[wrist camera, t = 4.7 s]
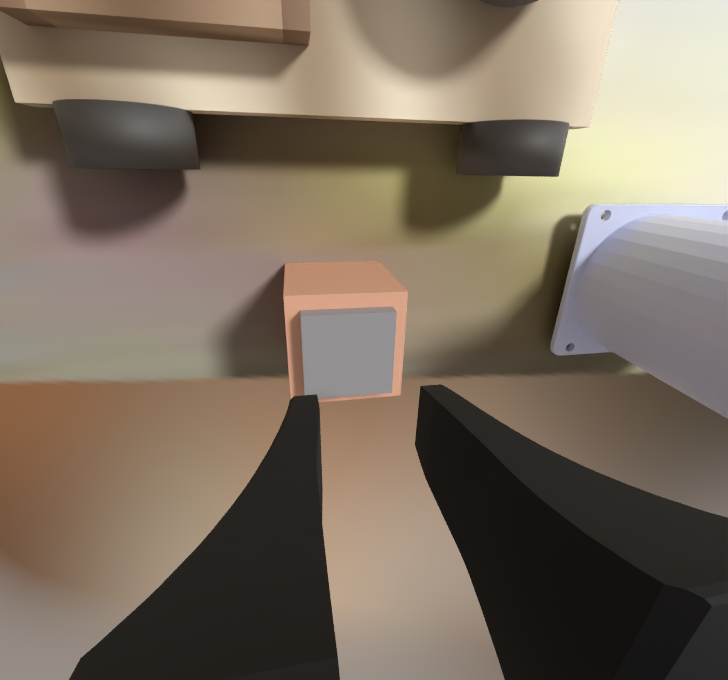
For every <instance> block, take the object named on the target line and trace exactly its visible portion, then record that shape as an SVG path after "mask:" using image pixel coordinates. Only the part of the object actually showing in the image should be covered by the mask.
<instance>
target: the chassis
mask: <svg viewBox="0 0 728 680" xmlns="http://www.w3.org/2000/svg"><path fill="white" fill-rule="evenodd" d="M618 2H619V0H538V1H536V2H533V3H530V4H527V5H523V6H517V7H499V6H494V5H489V4H487V3H484V2H482V1H479V0H0V55H1V59H2V62H3V65H4V68H5V72H6V75H7V78H8V81H9V84H10V88H11V91H12V94H13V97H14V101H15V102H16V103H20V104H24V105H29V106H33V107H49V108H54V112H55V115H56V119H57V122H58V126H59V130H60V133H61V137H62V141H63V144H64V148H65V151H66V155H67V159H68V162H69V166H70V167H72V168H109V169H185V170H195V169H200V163H199V156H198V149H197V142H196V136H195V129H194V122H193V115H192V113H193V114H217V115H241V116H265V117H289V118H313V119H337V120H361V121H385V122H409V123H433V124H457V125H461V133H460V142H459V151H458V160H457V169H456V174H466V175H499V176H551V177H557V176H559V171H560V166H561V162H562V157H563V152H564V148H565V143H566V138H567V134H568V129H579V128H587V127H590V123H591V118H592V114H593V110H594V106H595V101H596V97H597V93H598V88H599V84H600V80H601V75H602V71H603V67H604V63H605V58H606V54H607V50H608V45H609V41H610V37H611V32H612V28H613V24H614V20H615V15H616V11H617V7H618Z"/></svg>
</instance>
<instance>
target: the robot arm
mask: <svg viewBox="0 0 728 680" xmlns="http://www.w3.org/2000/svg"><path fill="white" fill-rule="evenodd" d="M604 211H605V215H604V217H603V218H602V219H601V215H602V213H603V212H604ZM722 215H723V216H722ZM568 344H570V345H569V347H567V345H568ZM566 347H567V348H566ZM550 350H551V352H553V353H554V354H556V355H558V356H562V355H576V354H591V353H605V352H613V353H615V354H617V355H618V356H620V357H622V358H624V359H625V360H627V361H629V362H631V363H632V364H634V365H636V366H638V367H639V368H641V369H643V370H644V371H646V372H648V373H650V374H651V375H653V376H655V377H657V378H658V379H660V380H662V381H664V382H665V383H667V384H669V385H671V386H672V387H674V388H676V389H677V390H679V391H681V392H683V393H684V394H686V395H688V396H690V397H691V398H693V399H695V400H696V401H698V402H700V403H702V404H703V405H705V406H707V407H709V408H710V409H712V410H714V411H716V412H717V413H719V414H721V415H722V416H724V417H726V418H728V205H722V204H592V205H589V206H588V207H587V208H586V209H585V210H584V212H583V215H582V219H581V223H580V227H579V231H578V235H577V239H576V243H575V247H574V251H573V255H572V259H571V263H570V267H569V272H568V276H567V280H566V284H565V288H564V292H563V296H562V300H561V304H560V308H559V312H558V316H557V320H556V324H555V328H554V332H553V336H552V340H551V345H550ZM320 437H321V436H320V409H319V402H318V396H317V394H314V395H302V396H294V397H293V398H292V399H291V400H290V403H289V406H288V410H287V413H286V415H285V418H284V420H283V422H282V425H281V427H280V429H279V431H278V433H277V435H276V437H275V439H274V441H273V443H272V445H271V447H270V449H269V450H268V452H267V454H266V456H265V458H264V459H263V461H262V462H261V464H260V466H259V467H258V469H257V471H256V473H255V474H254V475H253V477H252V478H251V480H250V482H249V483H248V484H247V486H246V487H245V489H244V490H243V491H242V493H241V494H240V496H239V497H238V498H237V500H236V501H235V502H234V504H233V505H232V506H231V508H230V509H229V510H228V511H227V513H226V514H225V515H224V516H223V517H222V519H221V520H220V521H219V522H218V524H217V525H216V526H215V528H214V529H213V530H212V531H211V532H210V533H209V534H208V536H207V537H206V538H205V539H204V540H203V541H202V542H201V544H200V545H199V546H198V547H197V548H196V549H195V550H194V551H193V552H192V553H191V555H189V556H188V558H186V559H185V561H184V562H183V563H182V564H181V565H180V566H179V567H178V568H177V569H176V570H175V571H174V572H173V573H172V574H171V575H170V576H169V577H168V578H167V579H166V580H165V581H164V582H163V583H162V585H161V586H160V587H159V588H157V589H156V590H155V591H154V592H153V593H152V594H151V595H150V596H149V597H148V598H147V599H146V600H145V601H144V602H143V603H142V604H141V605H140V606H138V607H137V608H136V610H134V611H133V612H132V613H131V614H130V615H129V616H127V617H126V619H124V620H123V621H122V622H121V623H120V624H119V625H118V626H116V627H115V628H114V629H113V630H112V631H111V632H110V633H109V634H108V635H107V636H106V637H104V638H103V640H101V641H100V642H99V643H98V644H97V645H96V646H95V647H93V648H92V649H91V650H90V651H89V652H87V653H86V654H85V655H84V656H83V657H82V658H81V659H80V661H79V662H78V664H77V666H76V668H75V670H74V672H73V673H72V675H71V677H70V679H69V680H340V677H339V667H338V656H337V648H336V641H335V632H334V624H333V616H332V607H331V599H330V590H329V582H328V573H327V565H326V555H325V547H324V537H323V529H322V466H321V465H322V464H321V438H320ZM415 446H416V449H417V453H418V456H419V459H420V463H421V466H422V469H423V472H424V475H425V478H426V480H427V482H428V484H429V487H430V489H431V491H432V493H433V495H434V498H435V500H436V502H437V504H438V506H439V508H440V510H441V513H442V515H443V517H444V519H445V521H446V523H447V525H448V527H449V530H450V531H451V534H452V536H453V538H454V540H455V542H456V544H457V547H458V549H459V551H460V553H461V556H462V558H463V560H464V563H465V565H466V567H467V570H468V573H469V575H470V578H471V581H472V584H473V586H474V589H475V592H476V595H477V598H478V601H479V603H480V606H481V609H482V611H483V615H484V618H485V621H486V624H487V627H488V630H489V633H490V635H491V638H492V642H493V644H494V647H495V650H496V653H497V656H498V659H499V663H500V666H501V669H502V672H503V675H504V678H505V680H728V518H727V517H723V516H719V515H716V514H712V513H709V512H705V511H702V510H699V509H696V508H693V507H690V506H687V505H684V504H681V503H678V502H675V501H672V500H669V499H666V498H663V497H660V496H657V495H654V494H651V493H649V492H646V491H643V490H640V489H638V488H635V487H632V486H630V485H627V484H625V483H622V482H620V481H617V480H615V479H612V478H610V477H608V476H605V475H603V474H600V473H598V472H595V471H593V470H591V469H589V468H586V467H584V466H582V465H580V464H578V463H576V462H573V461H571V460H569V459H567V458H565V457H563V456H561V455H559V454H557V453H554V452H553V451H551V450H549V449H547V448H545V447H543V446H541V445H539V444H537V443H536V442H534V441H532V440H530V439H529V438H527V437H525V436H523V435H521V434H520V433H518V432H516V431H514V430H513V429H511V428H509V427H508V426H506V425H505V424H503V423H501V422H500V421H498V420H496V419H495V418H493V417H492V416H490V415H489V414H487V413H485V412H484V411H482V410H480V409H479V408H478V407H476V406H475V405H473V404H472V403H470V402H469V401H467V400H466V399H464V398H463V397H461V396H460V395H458V394H456V393H455V392H453V391H452V390H450V389H448V388H447V387H445V386H443V385H429V386H421V387H420V397H419V408H418V419H417V429H416V440H415Z"/></svg>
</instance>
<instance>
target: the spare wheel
mask: <svg viewBox="0 0 728 680" xmlns="http://www.w3.org/2000/svg"><path fill="white" fill-rule="evenodd" d="M479 1H482V2H484V3H487V4H489V5H494V6H499V7H517V6H523V5H527V4H530V3H533V2H536V1H538V0H479Z"/></svg>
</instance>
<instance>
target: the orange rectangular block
mask: <svg viewBox="0 0 728 680" xmlns="http://www.w3.org/2000/svg"><path fill="white" fill-rule="evenodd" d="M283 298H284V312H285V326H286V340H287V354H288V368H289V382H290V396H291V399H292V398H293V397H294V396H302V395H314V394H317V396H318V402H325V401H338V400H350V399H363V398H375V397H386V396H398V395H401V383H402V369H403V355H404V341H405V326H406V312H407V298H408V291H407V290H406V289H405V288H404V287H403V286H402V285H401V284H400V283H399V282H398V281H397V279H396V278H395V277H394V276H393V275H392V274H391V273H390V272H389V271H388V270H387V269H386V268H385V267H384V266H383V265H382V263H381V262H380V261H372V262H322V263H285V273H284V293H283Z"/></svg>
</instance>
